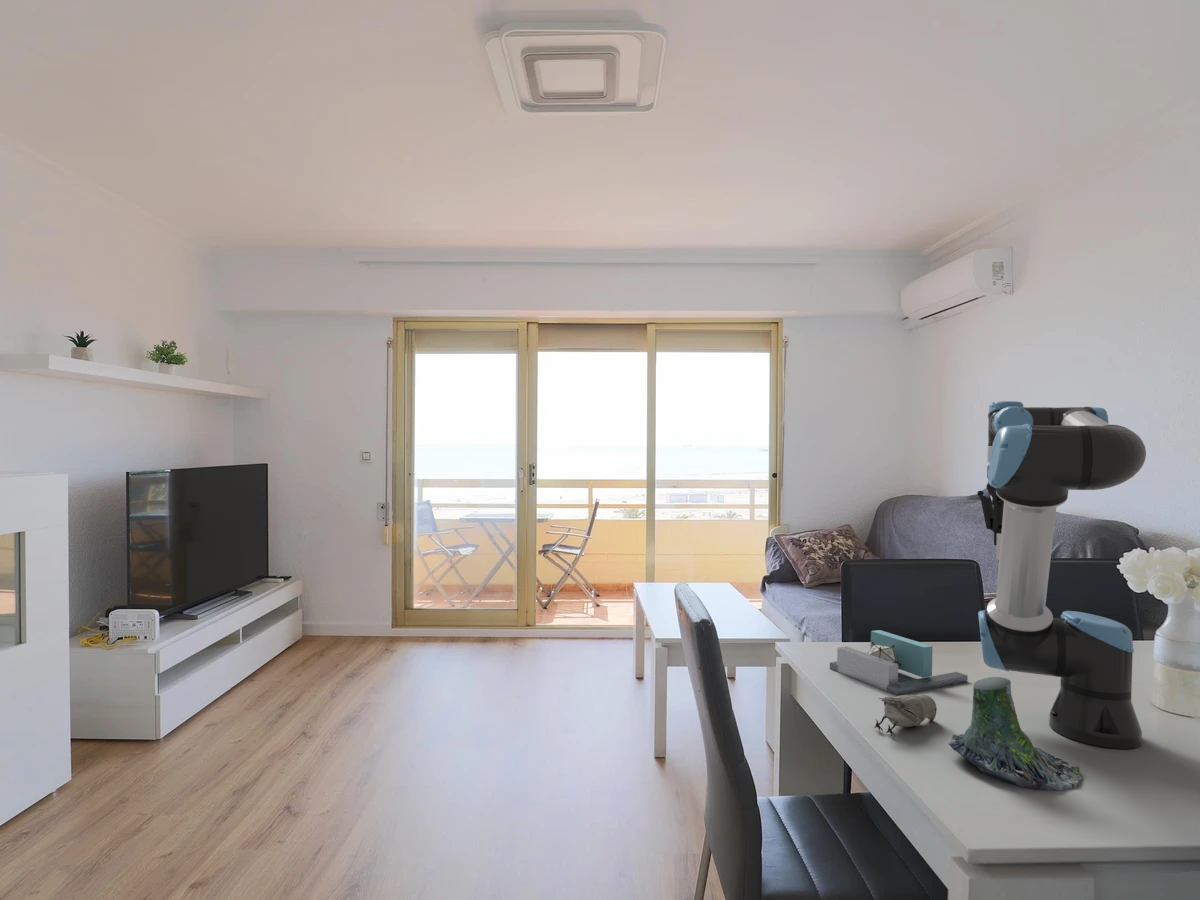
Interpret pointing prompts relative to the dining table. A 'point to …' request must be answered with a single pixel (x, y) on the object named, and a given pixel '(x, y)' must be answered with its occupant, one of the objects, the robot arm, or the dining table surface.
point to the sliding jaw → (907, 652)
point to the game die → (884, 653)
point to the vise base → (886, 673)
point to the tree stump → (1008, 743)
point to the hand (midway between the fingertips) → (1002, 559)
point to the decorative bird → (908, 710)
